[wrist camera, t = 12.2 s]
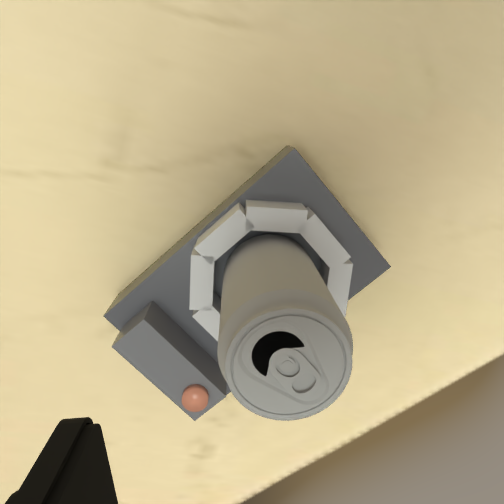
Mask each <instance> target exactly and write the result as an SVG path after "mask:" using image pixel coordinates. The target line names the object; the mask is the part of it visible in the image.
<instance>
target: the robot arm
mask: <svg viewBox="0 0 504 504" xmlns="http://www.w3.org/2000/svg"><path fill="white" fill-rule="evenodd" d="M5 504H118V501H117V497H116V492H115V488H114V483H113V479H112V474H111V470H110V465H109V461H108V456H107V452H106V447H105V443H104V438H103V434H102V429H101V426H100V425H99V424H93V421H92V419H91V418H89V417H85V418H72V419H63V420H61V421H60V422H59V423H58V425H57V426H56V428H55V430H54V432H53V433H52V435H51V437H50V438H49V440H48V442H47V443H46V445H45V447H44V448H43V450H42V452H41V453H40V455H39V457H38V458H37V460H36V462H35V464H34V465H33V467H32V469H31V470H30V472H29V474H28V475H27V477H26V479H25V480H24V482H23V484H22V485H21V487H20V489H19V490H18V491H16V492H15V493H13V494H12V495H11V496H10V497H9V499H8V500H7V501H6V503H5Z"/></svg>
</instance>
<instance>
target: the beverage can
mask: <svg viewBox="0 0 504 504" xmlns="http://www.w3.org/2000/svg"><path fill="white" fill-rule="evenodd" d="M352 353H353V340H352V334H351V331H350V328H349V325H348V323H347V321H346V319H345V317H344V316H343V314H342V312H341V310H340V309H339V307H338V305H337V304H336V302H335V300H334V298H333V297H332V295H331V293H330V291H329V290H328V288H327V286H326V284H325V283H324V281H323V279H322V277H321V276H320V274H319V272H318V270H317V269H316V267H315V265H314V263H313V262H312V260H311V258H310V256H309V255H308V253H307V252H306V251H305V249H304V248H303V247H302V246H301V245H299V244H298V243H297V242H295V241H294V240H292V239H290V238H287V237H285V236H281V235H276V234H266V235H260V236H256V237H252V238H250V239H248V240H246V241H245V242H243V243H242V244H240V245H239V246H238V247H237V248H236V249H235V250H234V251H233V252H232V254H231V255H230V257H229V258H228V260H227V262H226V265H225V268H224V273H223V285H222V298H221V311H220V323H219V336H218V350H217V355H218V362H219V367H220V370H221V373H222V375H223V377H224V379H225V380H226V382H227V383H228V386H229V388H230V390H231V392H232V394H233V395H234V397H235V398H236V399H237V400H238V401H239V402H240V403H241V404H242V405H243V406H244V407H245V408H247V409H248V410H250V411H251V412H253V413H255V414H257V415H259V416H262V417H265V418H269V419H274V420H297V419H302V418H306V417H309V416H312V415H314V414H317V413H319V412H321V411H322V410H324V409H325V408H327V407H328V406H330V405H331V404H332V403H333V402H334V401H335V400H336V399H337V398H338V397H339V396H340V395H341V393H342V392H343V390H344V389H345V387H346V385H347V383H348V381H349V378H350V375H351V370H352Z"/></svg>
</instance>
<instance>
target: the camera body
mask: <svg viewBox="0 0 504 504" xmlns="http://www.w3.org/2000/svg"><path fill="white" fill-rule="evenodd" d="M266 234H276V235H281V236H285V237H287V238H290V239H292V240H294V241H295V242H297V243H298V244H299V245H301V246H302V247H303V248H304V249H305V251H306V252H307V253H308V255H309V256H310V258H311V260H312V262H313V263H314V265H315V267H316V269H317V270H318V272H319V274H320V276H321V277H322V279H323V281H324V283H325V284H326V286H327V288H328V290H329V291H330V293H331V295H332V297H333V298H334V300H335V302H336V304H337V305H338V307H339V309H340V310H341V312H342V314H343V316H344V317H345V315H346V309H347V302H348V300H349V299H350V298H352V297H353V296H354V295H355V294H357V293H358V292H359V291H361V290H362V289H363V288H364V287H366V286H367V285H368V284H370V283H371V282H372V281H373V280H375V279H376V278H377V277H379V276H380V275H381V274H382V273H384V272H385V271H386V270H388V269H389V268H390V267H391V266H390V265H389V264H388V263H387V261H386V260H385V259H384V258H383V256H382V255H381V254H380V253H379V251H378V250H377V249H376V248H375V247H374V245H373V244H372V243H371V242H370V240H369V239H368V238H367V237H366V235H365V234H364V233H363V232H362V230H361V229H360V228H359V227H358V226H357V224H356V223H355V222H354V221H353V219H352V218H351V217H350V216H349V214H348V213H347V212H346V211H345V210H344V208H343V207H342V206H341V205H340V203H339V202H338V201H337V200H336V198H335V197H334V196H333V195H332V194H331V192H330V191H329V190H328V189H327V187H326V186H325V185H324V184H323V182H322V181H321V180H320V179H319V177H318V176H317V175H316V174H315V173H314V171H313V170H312V169H311V168H310V166H309V165H308V164H307V163H306V161H305V160H304V159H303V158H302V157H301V155H300V154H299V153H298V152H297V150H296V149H295V148H293V147H290V146H286V147H285V148H284V149H283V150H282V151H280V152H279V153H278V154H277V155H276V156H275V157H274V158H273V159H271V160H270V161H269V162H268V163H267V164H266V165H265V166H263V167H262V168H261V169H260V170H259V171H258V172H257V173H256V174H254V175H253V176H252V177H251V178H250V179H249V180H248V181H246V182H245V183H244V184H243V185H242V186H241V187H240V188H239V189H237V190H236V191H235V192H234V193H233V194H232V195H231V196H229V197H228V198H227V199H226V200H225V201H224V202H223V203H222V204H220V205H219V206H218V207H217V208H216V209H215V210H214V211H212V212H211V213H210V214H209V215H208V216H207V217H206V218H205V219H203V220H202V221H201V222H200V223H199V224H198V225H197V226H195V227H194V228H193V229H192V230H191V231H190V232H189V233H188V234H186V235H185V236H184V237H183V238H182V239H181V240H180V241H178V242H177V243H176V244H175V245H174V246H173V247H172V248H171V249H169V250H168V251H167V252H166V253H165V254H164V255H163V256H161V257H160V258H159V259H158V260H157V261H156V262H155V263H154V264H152V265H151V266H150V267H149V268H148V269H147V270H146V271H144V272H143V273H142V274H141V275H140V276H139V277H138V278H136V279H135V280H134V281H133V282H132V283H131V284H130V285H129V286H127V287H126V288H125V289H124V290H123V291H122V292H121V293H119V294H118V296H117V297H116V299H115V300H114V301H113V303H112V304H111V306H110V307H109V309H108V310H107V311H106V313H105V314H104V317H105V318H106V319H107V320H108V321H109V322H110V323H111V324H113V325H114V326H115V327H116V328H117V329H118V330H119V331H120V333H119V334H118V336H117V338H116V340H115V341H114V343H113V345H112V347H113V348H114V349H115V350H116V351H117V352H118V353H119V354H120V355H121V356H123V357H124V358H125V359H126V360H127V361H128V362H129V363H130V364H132V365H133V366H134V367H135V368H136V369H137V370H138V371H139V372H141V373H142V374H143V375H144V376H145V377H146V378H147V379H148V380H149V381H151V382H152V383H153V384H154V385H155V386H156V387H157V388H158V389H160V390H161V391H162V392H163V393H164V394H165V395H166V396H167V397H169V398H170V399H171V400H172V401H173V402H174V403H175V404H176V405H177V406H179V407H180V408H181V409H182V410H183V411H184V412H185V413H186V414H188V415H189V416H190V417H191V418H192V419H193V420H194V421H195V420H197V419H198V418H199V417H200V416H202V415H203V414H204V413H206V412H207V411H208V410H209V409H211V408H212V407H213V406H215V405H216V404H217V403H218V402H220V401H221V400H222V399H224V398H225V397H226V395H227V394H228V393H230V392H231V390H230V388H229V386H228V383H227V382H226V380H225V379H224V377H223V375H222V373H221V370H220V367H219V362H218V355H217V350H218V336H219V323H220V311H221V298H222V285H223V273H224V268H225V265H226V262H227V260H228V258H229V257H230V255H231V254H232V252H233V251H234V250H235V249H236V248H237V247H238V246H239V245H240V244H242V243H243V242H245V241H246V240H248V239H250V238H252V237H256V236H260V235H266Z"/></svg>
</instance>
